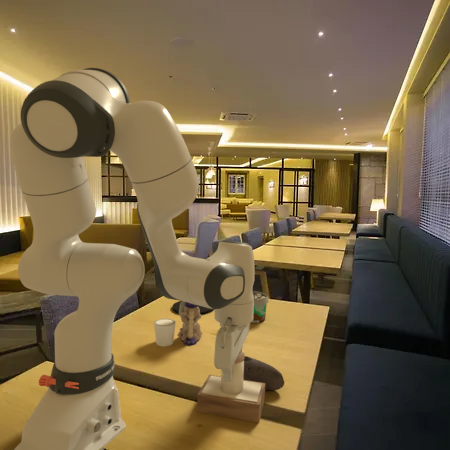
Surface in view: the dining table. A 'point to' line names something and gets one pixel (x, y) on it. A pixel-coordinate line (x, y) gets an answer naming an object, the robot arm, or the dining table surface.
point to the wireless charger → (202, 309)
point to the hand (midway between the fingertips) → (232, 369)
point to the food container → (259, 307)
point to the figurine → (185, 318)
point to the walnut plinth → (232, 400)
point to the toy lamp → (190, 325)
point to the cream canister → (235, 377)
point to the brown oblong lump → (262, 374)
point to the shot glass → (164, 332)
